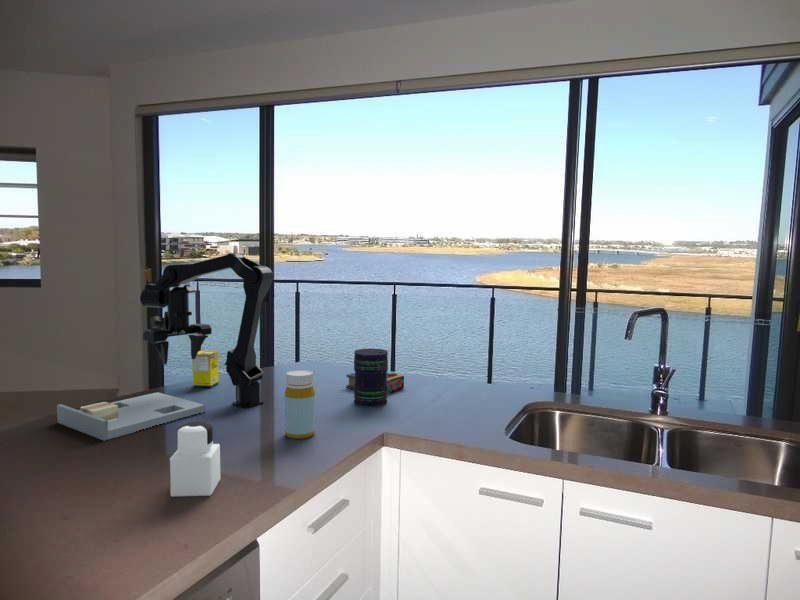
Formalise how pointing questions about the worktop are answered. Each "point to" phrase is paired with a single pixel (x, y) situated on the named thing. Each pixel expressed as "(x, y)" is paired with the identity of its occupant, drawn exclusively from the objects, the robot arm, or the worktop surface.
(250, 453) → the worktop surface
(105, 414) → the beech block
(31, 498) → the worktop surface
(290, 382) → the bottle
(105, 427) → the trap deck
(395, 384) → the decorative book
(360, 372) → the storage jar
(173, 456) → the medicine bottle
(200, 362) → the supplement box
